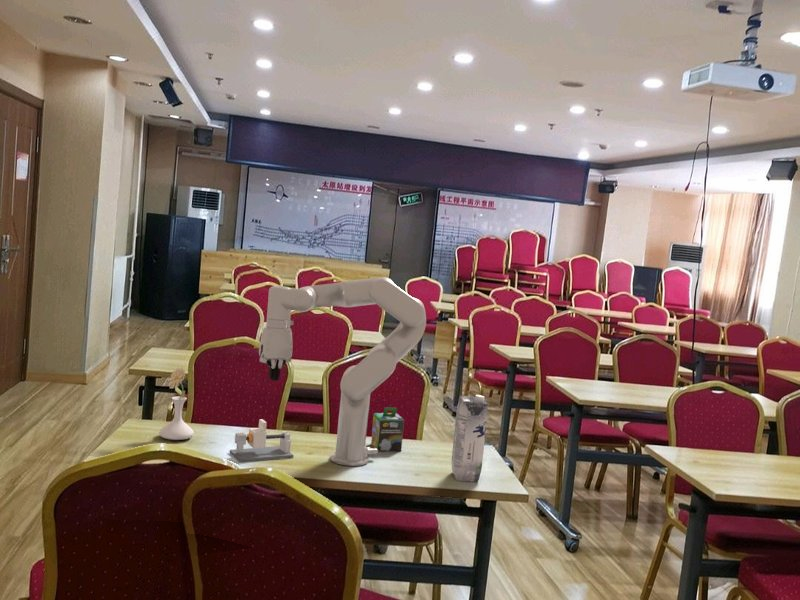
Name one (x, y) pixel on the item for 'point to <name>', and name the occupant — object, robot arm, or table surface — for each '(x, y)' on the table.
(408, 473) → the table surface
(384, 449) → the chalk box
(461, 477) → the juice carton
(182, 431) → the flower in vase
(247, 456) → the mini bench vise
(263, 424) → the cream tall block
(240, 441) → the connector
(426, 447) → the table surface
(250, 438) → the lead screw with knob
